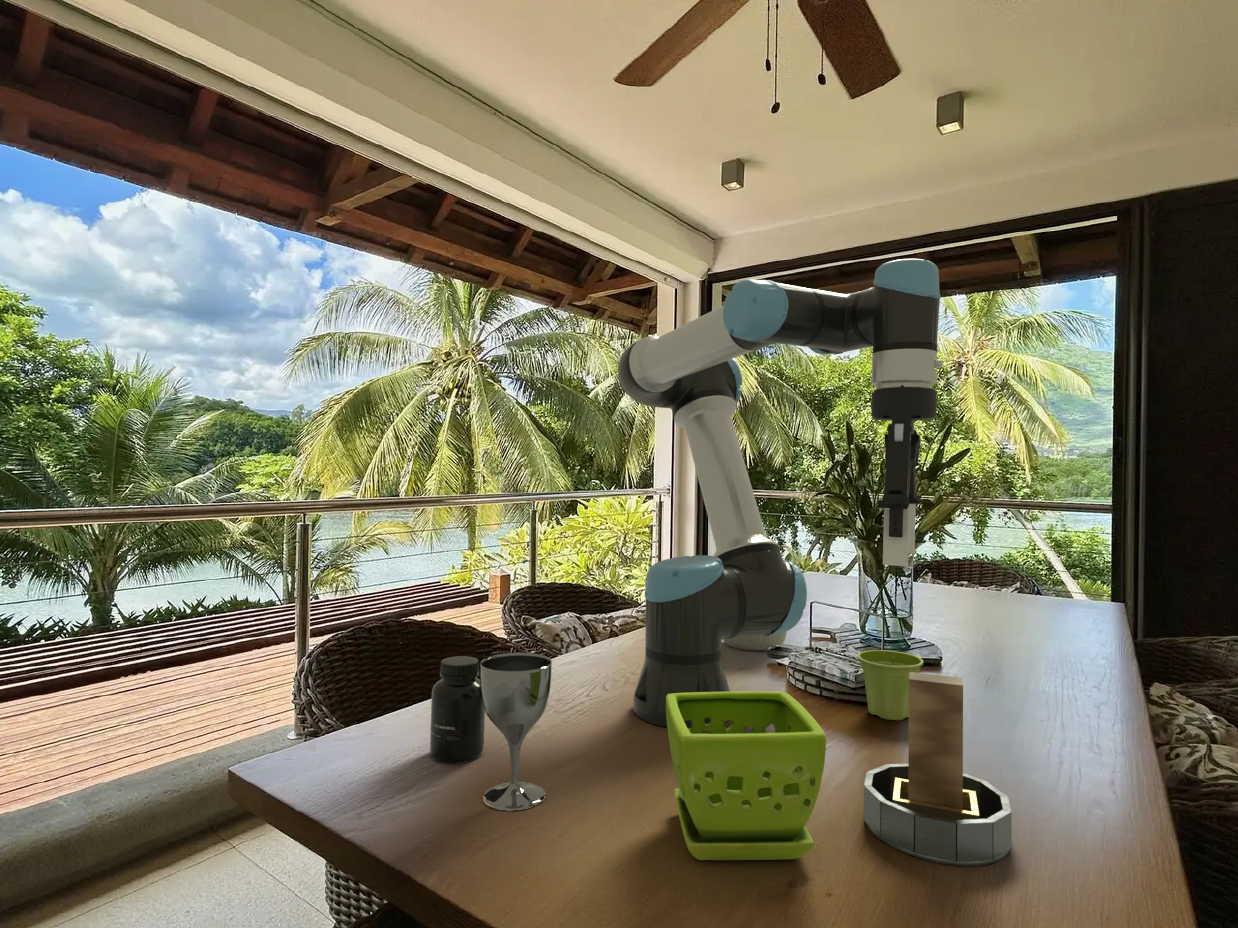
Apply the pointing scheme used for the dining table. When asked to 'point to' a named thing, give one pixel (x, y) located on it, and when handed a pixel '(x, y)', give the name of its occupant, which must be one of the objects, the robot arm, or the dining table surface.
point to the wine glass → (515, 716)
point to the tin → (938, 820)
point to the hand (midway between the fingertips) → (899, 558)
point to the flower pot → (745, 773)
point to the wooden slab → (935, 740)
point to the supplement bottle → (457, 712)
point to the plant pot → (888, 681)
